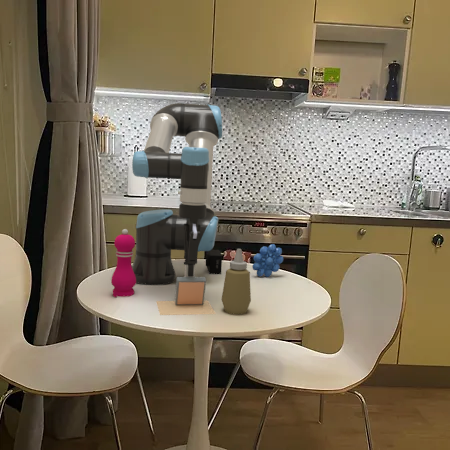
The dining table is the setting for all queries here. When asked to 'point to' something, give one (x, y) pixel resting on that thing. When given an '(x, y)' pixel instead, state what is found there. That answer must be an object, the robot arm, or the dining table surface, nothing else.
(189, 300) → the tile
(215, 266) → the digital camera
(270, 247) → the grapes
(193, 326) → the dining table surface
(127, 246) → the pepper mill
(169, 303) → the mat
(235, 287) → the squeeze bottle
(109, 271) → the dining table surface
